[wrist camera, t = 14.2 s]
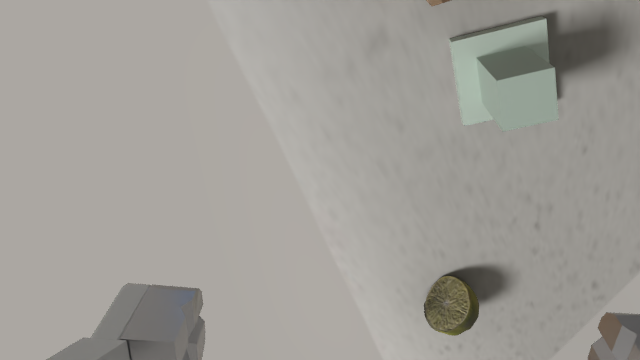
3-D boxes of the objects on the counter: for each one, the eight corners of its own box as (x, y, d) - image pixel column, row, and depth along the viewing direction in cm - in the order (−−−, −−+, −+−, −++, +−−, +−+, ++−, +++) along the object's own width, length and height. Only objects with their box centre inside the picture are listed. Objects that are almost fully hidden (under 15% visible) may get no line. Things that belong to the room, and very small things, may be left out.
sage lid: (448, 38, 39) (468, 62, 32) (540, 15, 38) (580, 35, 31) (461, 120, 41) (481, 157, 35) (547, 101, 40) (584, 136, 34)
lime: (420, 307, 50) (427, 345, 45) (427, 266, 48) (435, 302, 43) (467, 310, 50) (478, 349, 45) (476, 269, 48) (490, 306, 43)
